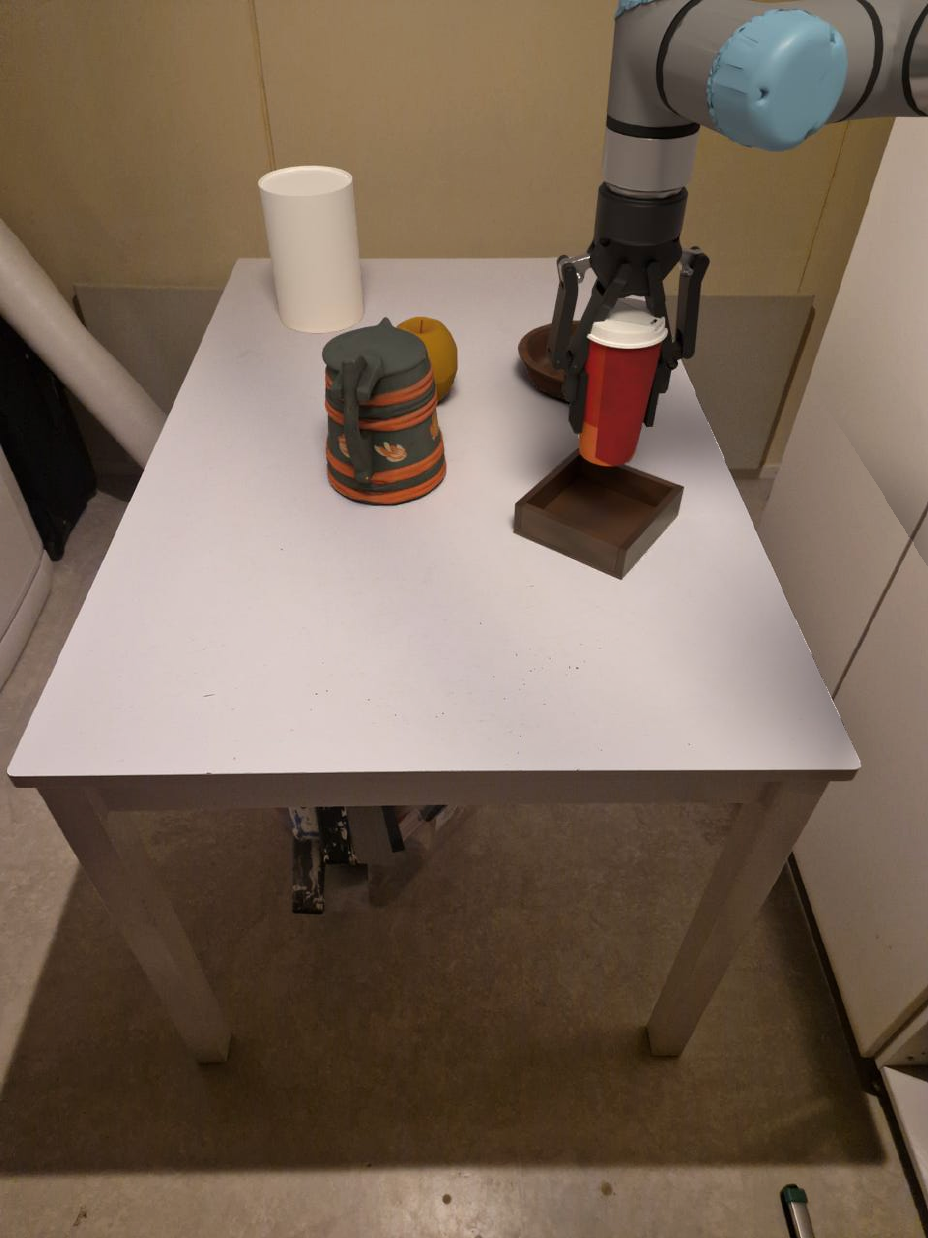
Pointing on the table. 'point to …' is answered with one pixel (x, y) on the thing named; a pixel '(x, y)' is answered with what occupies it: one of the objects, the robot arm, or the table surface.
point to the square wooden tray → (598, 513)
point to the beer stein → (381, 416)
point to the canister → (313, 247)
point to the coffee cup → (619, 381)
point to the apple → (436, 350)
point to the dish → (542, 360)
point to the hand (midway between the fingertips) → (610, 423)
